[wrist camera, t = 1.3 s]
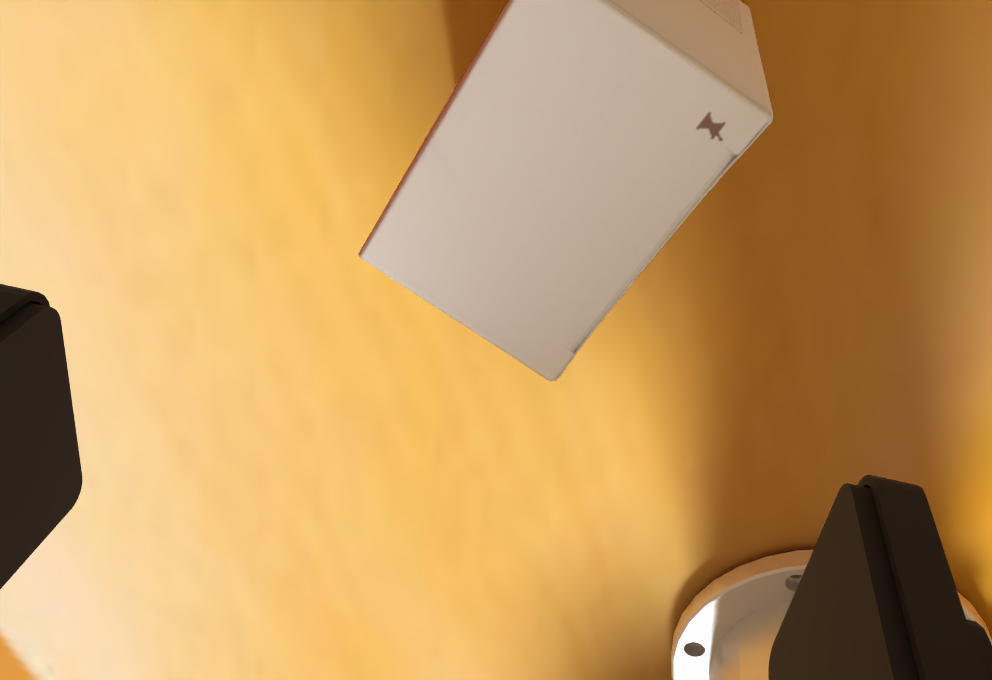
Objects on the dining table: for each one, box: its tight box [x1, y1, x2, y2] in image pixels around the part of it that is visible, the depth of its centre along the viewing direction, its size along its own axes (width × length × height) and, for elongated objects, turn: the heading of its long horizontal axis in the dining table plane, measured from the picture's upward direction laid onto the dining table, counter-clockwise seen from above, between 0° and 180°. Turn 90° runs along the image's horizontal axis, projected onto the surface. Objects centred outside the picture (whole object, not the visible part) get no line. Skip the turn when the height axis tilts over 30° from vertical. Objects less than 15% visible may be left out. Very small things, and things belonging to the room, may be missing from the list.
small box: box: [358, 0, 773, 381], centre depth 24 cm, size 8×6×10 cm
